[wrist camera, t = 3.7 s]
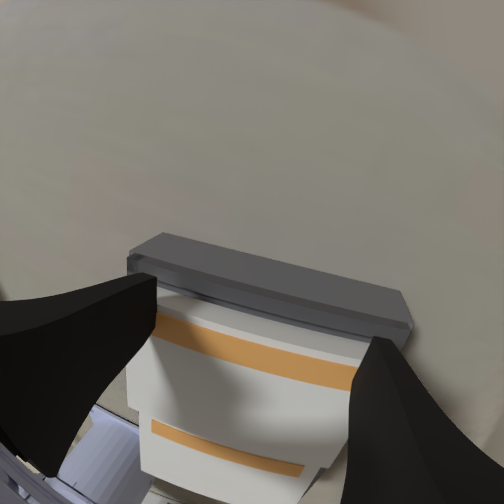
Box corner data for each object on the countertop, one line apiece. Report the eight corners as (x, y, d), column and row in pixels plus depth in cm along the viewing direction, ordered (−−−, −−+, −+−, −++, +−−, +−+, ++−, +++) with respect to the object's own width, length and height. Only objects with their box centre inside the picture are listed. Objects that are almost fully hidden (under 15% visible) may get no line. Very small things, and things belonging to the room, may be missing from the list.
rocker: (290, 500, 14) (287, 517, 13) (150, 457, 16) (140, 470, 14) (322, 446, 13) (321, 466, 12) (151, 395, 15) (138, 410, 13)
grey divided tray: (311, 460, 18) (305, 498, 15) (162, 416, 20) (141, 448, 17) (400, 291, 13) (417, 332, 10) (162, 232, 15) (121, 255, 12)
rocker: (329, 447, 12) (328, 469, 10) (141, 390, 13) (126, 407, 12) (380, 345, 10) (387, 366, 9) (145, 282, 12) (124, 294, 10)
